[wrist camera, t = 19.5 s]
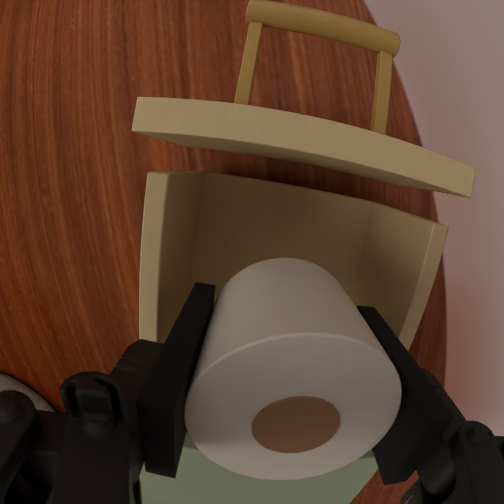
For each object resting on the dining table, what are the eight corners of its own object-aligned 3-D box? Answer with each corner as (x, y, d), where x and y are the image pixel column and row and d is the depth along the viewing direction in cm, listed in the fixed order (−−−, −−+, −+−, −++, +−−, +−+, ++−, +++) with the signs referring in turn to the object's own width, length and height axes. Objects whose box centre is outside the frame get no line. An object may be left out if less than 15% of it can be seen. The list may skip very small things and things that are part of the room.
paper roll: (370, 277, 11) (441, 353, 6) (321, 387, 13) (345, 485, 7) (230, 240, 11) (204, 306, 6) (200, 363, 12) (172, 464, 7)
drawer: (207, 32, 14) (177, -41, 7) (405, 73, 15) (478, 35, 7) (166, 380, 21) (136, 459, 13) (328, 400, 21) (349, 480, 13)
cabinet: (162, 332, 21) (112, 429, 11) (347, 357, 21) (388, 456, 12) (166, 470, 25) (147, 539, 16) (290, 485, 26) (295, 555, 16)
